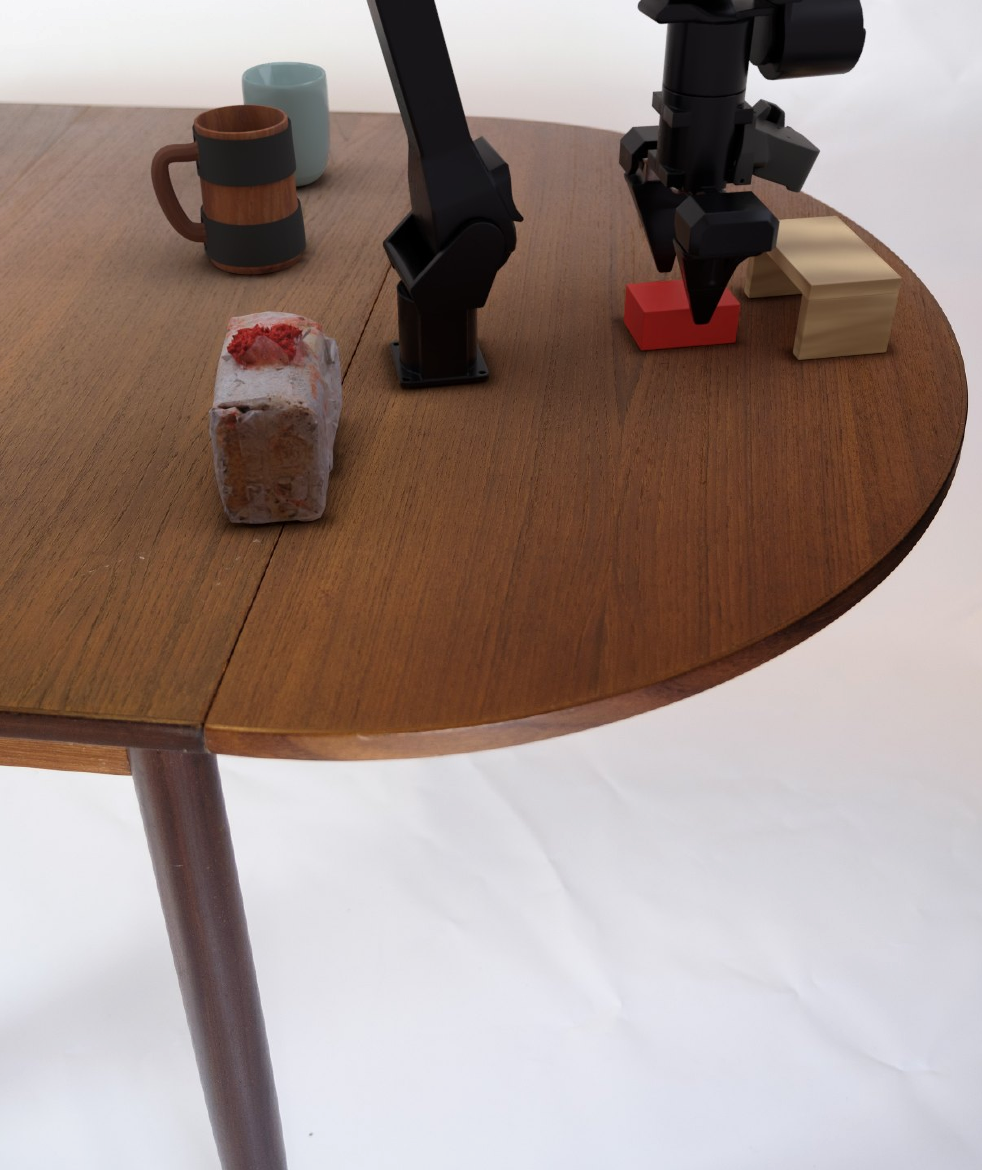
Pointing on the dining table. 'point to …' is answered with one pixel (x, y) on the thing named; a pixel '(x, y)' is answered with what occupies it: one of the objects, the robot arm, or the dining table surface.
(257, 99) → the cup
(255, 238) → the mug
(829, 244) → the stand
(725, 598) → the dining table surface
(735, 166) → the robot arm
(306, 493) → the food item
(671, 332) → the block
